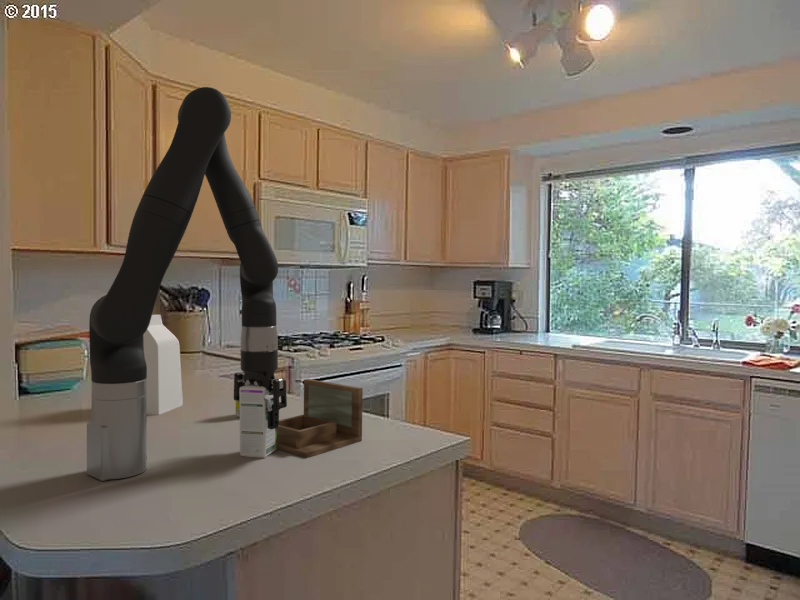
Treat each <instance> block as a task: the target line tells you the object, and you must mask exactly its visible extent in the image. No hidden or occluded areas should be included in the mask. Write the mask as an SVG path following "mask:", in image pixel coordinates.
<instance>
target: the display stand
mask: <svg viewBox="0 0 800 600" xmlns="http://www.w3.org/2000/svg"><path fill="white" fill-rule="evenodd" d="M363 393H364V392H363V387H358V386H353V385H346V384H340V383H333V382H328V381H322V380H316V379H311V378H306V379H303V414H301V415H295V416H291V417H288V418H283V419H279V425H278V427H277V450H280V451H283V452H286V453H290V454H293V455H296V456H301V457H304V458H307V459H308V458H311V457H315V456H318V455H321V454H323V453H327V452H331V451H333V450H336V449H340V448H342V447H346V446H350V445H353V444H355V443H359V442H362V441H363Z"/></svg>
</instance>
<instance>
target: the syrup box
mask: <svg viewBox="0 0 800 600" xmlns="http://www.w3.org/2000/svg"><path fill="white" fill-rule="evenodd" d="M239 389H240V417H239V455H240V456H242V457H248V458H260V459H262V458H263V459H265V458H267V457H268V456H269V455H271V454H272V453H273V452H275V451H277V450H278V449H277V428H275V429H268V412H267V411H269V410H268V408H267V406H266V402H265V400H264V395H265V394H266V395H267V396H269V395H271V392H270V393H269V391H267V390H266V387H263V386H261V387H258V386H254V385H245V386H242V387H240V388H239ZM271 403H272V405H273V404H274V403H273V401H271Z"/></svg>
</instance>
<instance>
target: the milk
mask: <svg viewBox="0 0 800 600" xmlns="http://www.w3.org/2000/svg"><path fill="white" fill-rule="evenodd" d="M143 340H144V356H145V361H146V365H147V415H153V416H154V415H155V416H156V415H157V416H159V415H162V414H165V413H167V412H170V411H172V410H175V409H178V408H179V407H183V405H184V404H183V403H184V399H183V382H182V366H181V365H182V364H181V347H180V342H179V339H178V338H177V337H176V336H175V335H174V333H172V331H170V330H169V329H168V328H167V327H166V326H165V325H164V324H163V320H162V315H161V314H152V317H151V320H150V324H149V326H148V329H147V330H146V332H145V333H144V334H143Z"/></svg>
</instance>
